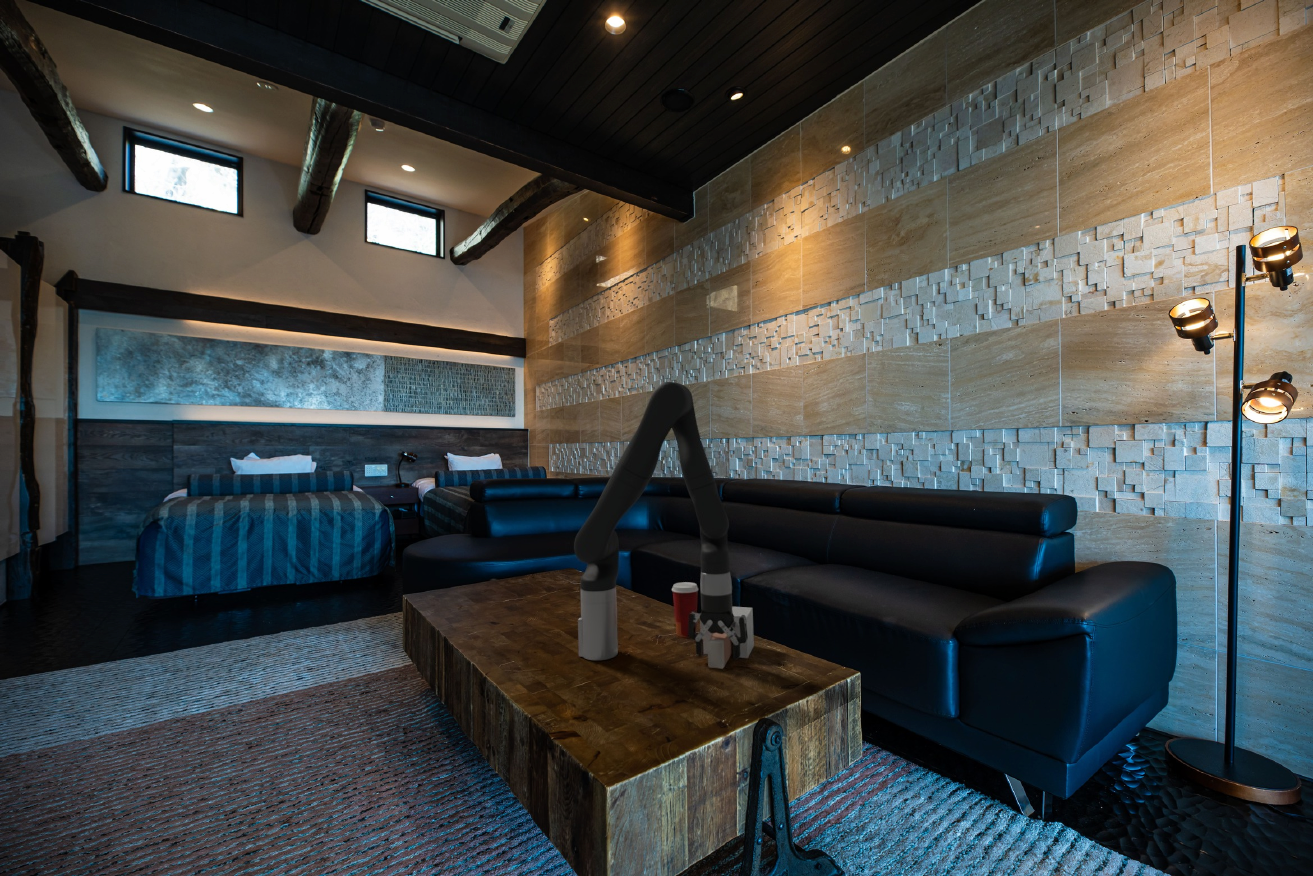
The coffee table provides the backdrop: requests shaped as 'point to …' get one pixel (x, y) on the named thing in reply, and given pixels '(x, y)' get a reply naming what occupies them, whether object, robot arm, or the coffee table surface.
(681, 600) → the paper cup
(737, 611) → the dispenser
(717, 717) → the coffee table surface
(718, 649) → the pink white-banded pillar
